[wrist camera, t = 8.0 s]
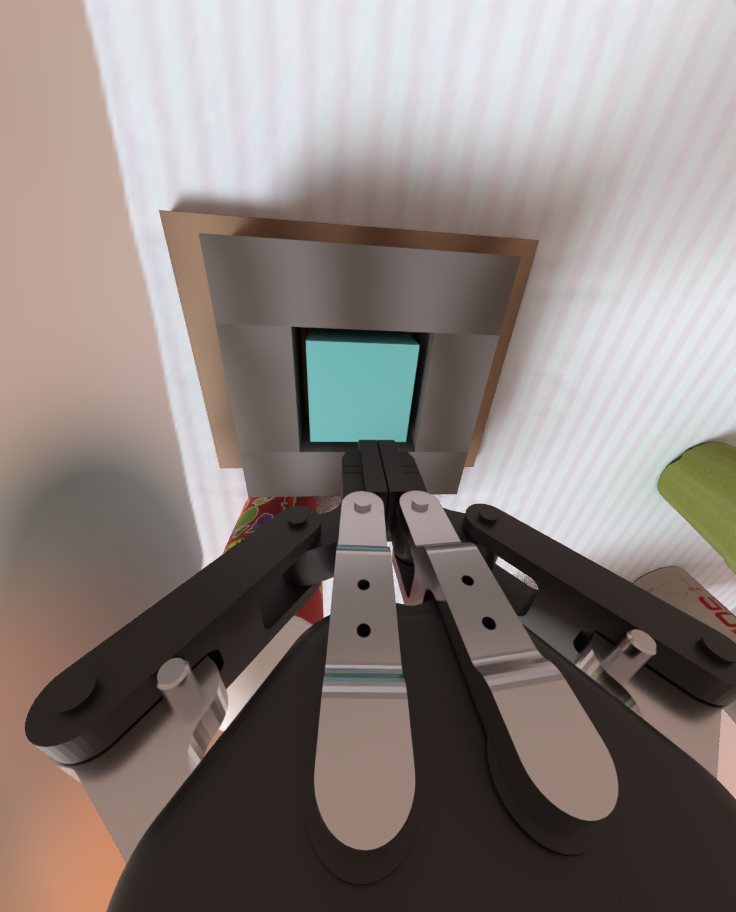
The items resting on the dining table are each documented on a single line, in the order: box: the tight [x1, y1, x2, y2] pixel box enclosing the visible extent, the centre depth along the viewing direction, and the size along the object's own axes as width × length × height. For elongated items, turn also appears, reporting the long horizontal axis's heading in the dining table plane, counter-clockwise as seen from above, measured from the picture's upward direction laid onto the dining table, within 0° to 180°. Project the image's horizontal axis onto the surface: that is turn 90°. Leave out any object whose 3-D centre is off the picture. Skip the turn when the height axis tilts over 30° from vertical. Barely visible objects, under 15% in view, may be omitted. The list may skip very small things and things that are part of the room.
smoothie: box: [218, 496, 323, 732], centre depth 22 cm, size 8×8×20 cm
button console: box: [159, 210, 539, 497], centre depth 21 cm, size 22×17×6 cm
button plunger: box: [306, 327, 420, 442], centre depth 20 cm, size 6×6×4 cm
